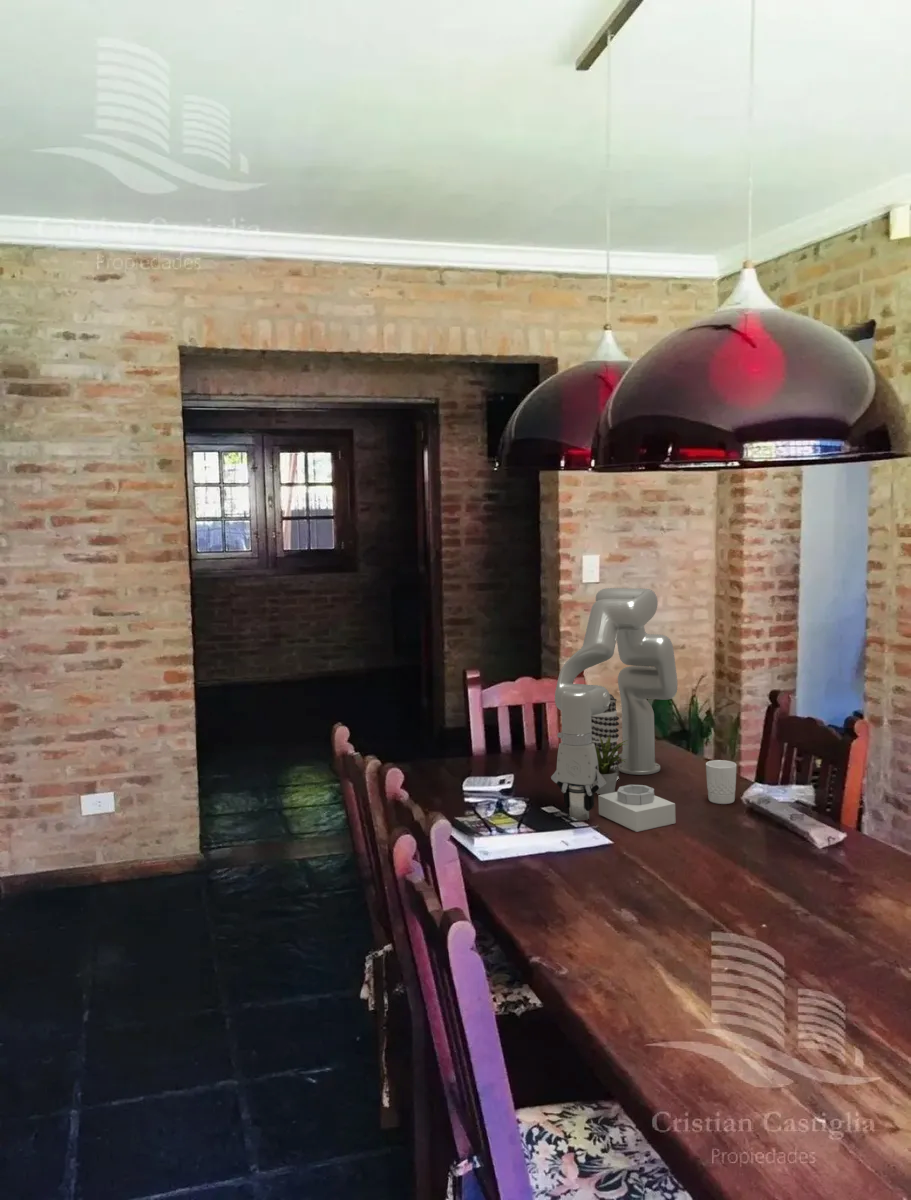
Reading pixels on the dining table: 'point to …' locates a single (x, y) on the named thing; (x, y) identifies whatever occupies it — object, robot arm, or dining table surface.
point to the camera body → (637, 808)
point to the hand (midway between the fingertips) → (579, 807)
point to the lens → (578, 802)
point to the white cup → (721, 781)
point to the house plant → (608, 766)
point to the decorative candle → (606, 730)
